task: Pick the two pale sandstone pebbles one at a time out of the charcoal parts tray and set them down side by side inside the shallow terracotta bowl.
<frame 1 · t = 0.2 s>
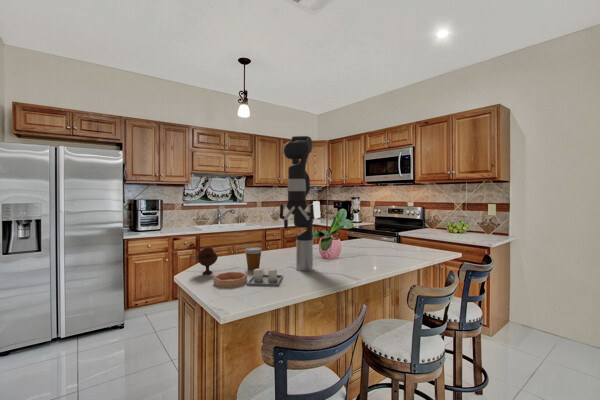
hand: (296, 228, 124), 29 cm above the table, tool pointing down, fingers open, 8 cm apart
parts tray: (265, 282, 146), on the table
ice cream bowl: (207, 273, 162), on the table
pebble near: (258, 280, 146), point 1 cm above the table, touching parts tray
terracotta bowl: (230, 283, 144), on the table
pebble far: (272, 281, 145), point 1 cm above the table, touching parts tray
disposable coffee cup: (253, 269, 170), on the table
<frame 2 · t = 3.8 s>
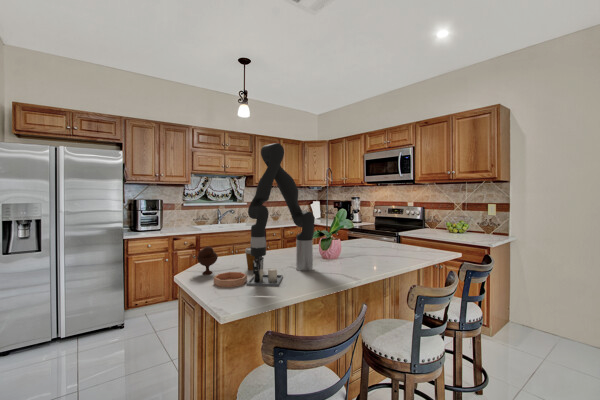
hand: (258, 280, 146), 1 cm above the table, tool pointing down, fingers closed on pebble near, 4 cm apart
pebble near: (258, 280, 146), point 1 cm above the table, touching gripper, parts tray
everything else where it was.
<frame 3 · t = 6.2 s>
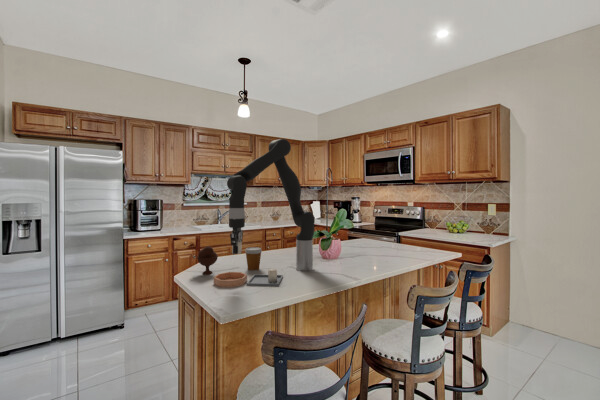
hand: (237, 252, 143), 15 cm above the table, tool pointing down, fingers closed on pebble near, 4 cm apart
pebble near: (237, 253, 143), point 15 cm above the table, touching gripper
everything else where it was.
when the fingers open (3 cm above the table, at t = 8.6 s): pebble near drops 2 cm, resting on terracotta bowl.
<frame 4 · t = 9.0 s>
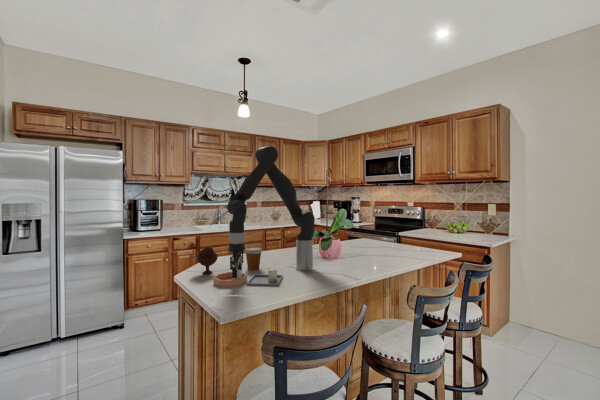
hand: (237, 275, 144), 4 cm above the table, tool pointing down, fingers open, 7 cm apart
pebble near: (237, 281, 144), point 1 cm above the table, touching terracotta bowl
everything else where it was.
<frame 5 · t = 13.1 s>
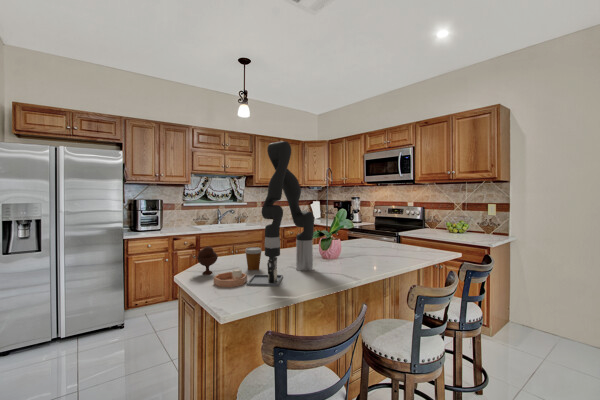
hand: (272, 280, 145), 1 cm above the table, tool pointing down, fingers closed on pebble far, 4 cm apart
pebble far: (272, 281, 145), point 1 cm above the table, touching gripper, parts tray
everything else where it was.
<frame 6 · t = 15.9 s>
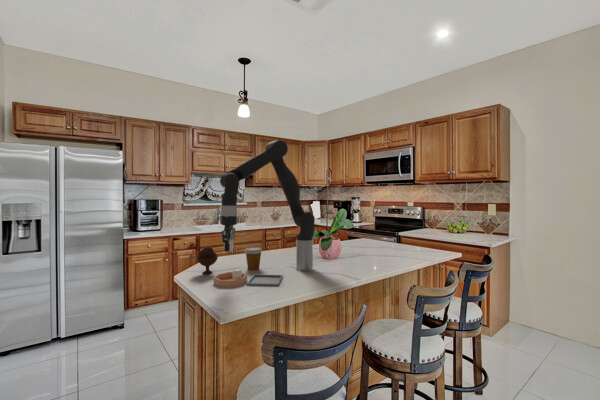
hand: (228, 250, 143), 16 cm above the table, tool pointing down, fingers closed on pebble far, 4 cm apart
pebble far: (228, 250, 143), point 16 cm above the table, touching gripper
everything else where it was.
when the fingers open (3 cm above the table, at t = 18.8 s): pebble far drops 2 cm, resting on terracotta bowl.
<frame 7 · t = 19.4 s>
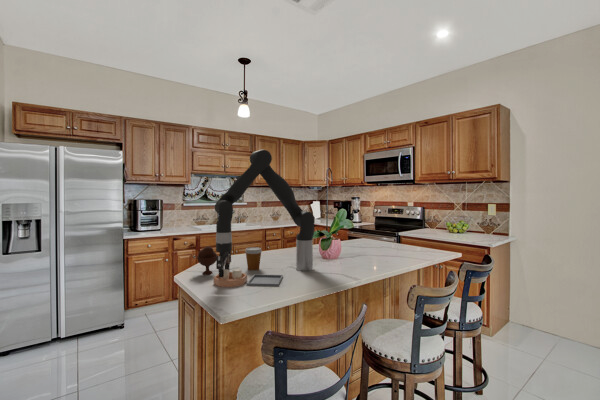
hand: (224, 274, 144), 4 cm above the table, tool pointing down, fingers open, 8 cm apart
pebble far: (224, 281, 144), point 1 cm above the table, touching terracotta bowl
everything else where it was.
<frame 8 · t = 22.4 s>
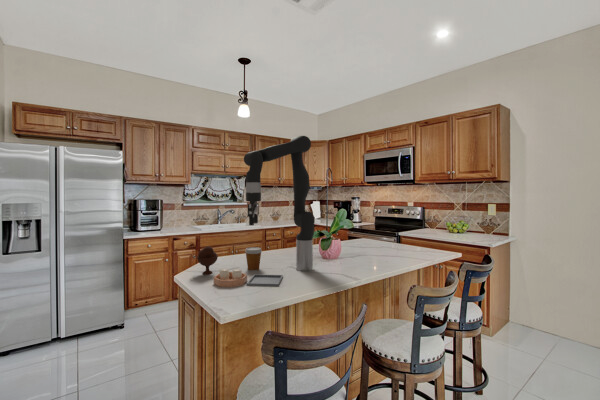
hand: (253, 224, 149), 28 cm above the table, tool pointing down, fingers open, 8 cm apart
nothing on the table moved.
at the end: pebble near inside the target area on the terracotta bowl (3.2 cm from its centre), point 0.8 cm above the terracotta bowl's base; pebble far inside the target area on the terracotta bowl (3.2 cm from its centre), point 0.8 cm above the terracotta bowl's base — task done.
